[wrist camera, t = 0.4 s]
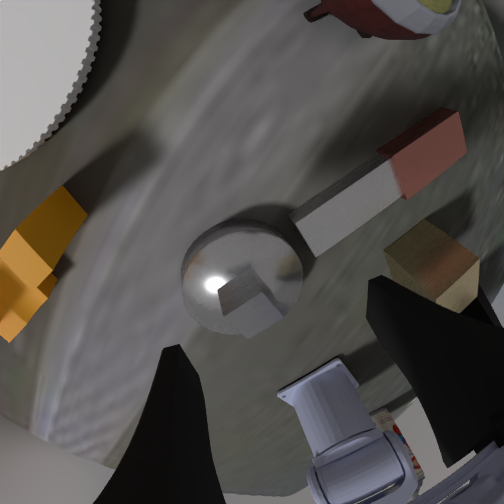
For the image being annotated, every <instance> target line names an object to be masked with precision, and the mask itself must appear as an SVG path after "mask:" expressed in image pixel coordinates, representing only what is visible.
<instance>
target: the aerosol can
mask: <svg viewBox="0 0 504 504" xmlns="http://www.w3.org/2000/svg"><path fill="white" fill-rule="evenodd" d="M369 415H370V417H371V419H372V420H373V422H374V424H375V426H376V428H377V427H380V429H381V431H382V433H383V432H384V431H385V430H389V431H393V432H395V433H396V434H397V435H398V436H399V438H400V439H401V441H402V442H403V444H404V446H405V447H406V449H407V451H408V453H409V455H410V458H411V460H412V463H413V468H414V470H415V472H416V475H417V477H418V481H417V482H418V486H417V488H416V490H415V492H414V493H413V495H412V497H411V498H410V500H409V501H411V500H413V499H415V498H416V497H418V496H419V495H418V492H419V490H420V489H419V488H420V487H421V486H422V481H423V479H424V478H425V477H424V472H423V471H422V469H421V467H420V465H419V463H418V462H417V460H416V458H415V456H414V454H413V453H412V451H411V449H410V448H409V446H408V444H407V443H406V440H405V439H404V437H403V435H402V433H401V432H400V430H399V428H398V427H397V425H396V423H395V421H394V420H393V418H392V416H391V415H390V413H389V411H388V410H387V408H385V407H384V408H380V409H377V410H375V411H373V412H371V413H369ZM393 485H394V484H393ZM393 485H391V486H389V487H387V488H386V489H388V488H390V487H392V486H393Z"/></svg>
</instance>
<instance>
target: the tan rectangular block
mask: <svg viewBox="0 0 504 504" xmlns="http://www.w3.org/2000/svg"><path fill="white" fill-rule="evenodd" d="M384 253H385V256H386V259H387V262H388V265H389V268H390V271H391V275H392V278H393V281H395V282H396V283H398V284H400V285H402V286H404V287H406V288H408V289H410V290H411V291H413V292H415V293H417V294H419V295H421V296H423V297H425V298H427V299H429V300H431V301H433V302H435V303H437V304H439V305H441V306H443V307H445V308H448V309H450V310H452V311H454V312H457V313H461V312H462V311H463V310H464V309H465V308H466V307H467V306H468V305H469V304H470V303H471V302H472V301H473V300H474V299H475V298H476V297H477V293H478V281H479V264H480V258H478V257H477V256H476V255H474V254H473V253H472V252H470V251H469V250H468V249H467V248H465V247H464V246H462V245H461V244H460V243H458V242H457V241H456V240H454V239H453V238H451V237H450V236H449V235H447V234H446V233H444V232H443V231H442V230H440V229H439V228H437V227H436V226H434V225H433V224H431V223H430V222H428V221H427V220H425V219H423V220H422V221H421V222H419V223H418V224H417V225H416V226H414V227H413V228H412V229H411V230H409V231H408V232H407V233H406V234H404V235H403V236H402V237H401V238H399V239H398V240H397V241H395V242H394V243H393V244H391V245H390V246H389V247H388V248H386V249H385V250H384Z"/></svg>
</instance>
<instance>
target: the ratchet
mask: <svg viewBox="0 0 504 504" xmlns="http://www.w3.org/2000/svg"><path fill="white" fill-rule="evenodd" d="M377 151H378V154H376V155H375V156H373V157H372V158H370V159H369V160H367V161H366V162H364V163H363V164H361V165H360V166H358V167H357V168H355V169H354V170H353V171H351V172H350V173H348V174H347V175H345V176H344V177H342V178H341V179H339V180H338V181H336V182H335V183H333V184H332V185H330V186H329V187H327V188H326V189H324V190H323V191H321V192H320V193H318V194H317V195H315V196H314V197H312V198H311V199H310V200H308V201H307V202H305V203H304V204H302V205H301V206H299V207H298V208H296V209H295V210H293V211H292V212H290V213H289V214H288V216H289V218H290V220H291V221H292V223H293V224H294V226H295V228H296V229H297V231H298V232H299V234H300V236H301V237H302V239H303V241H304V242H305V244H306V245H307V247H308V248H309V250H310V251H311V252H312V253H313V255H314V256H315V257H317V256H319V255H320V254H322V253H323V252H325V251H326V250H328V249H329V248H330V247H332V246H333V245H335V244H336V243H338V242H339V241H340V240H342V239H343V238H345V237H346V236H347V235H349V234H350V233H352V232H353V231H354V230H356V229H357V228H359V227H360V226H361V225H363V224H364V223H366V222H367V221H368V220H370V219H371V218H373V217H374V216H375V215H377V214H378V213H379V212H381V211H382V210H383V209H385V208H386V207H388V206H389V205H390V204H392V203H393V202H394V201H396V200H397V199H398V198H400V197H402V198H404V199H405V200H408V199H409V198H411V197H412V196H413V195H415V194H416V193H417V192H419V191H420V190H421V189H422V188H424V187H425V186H426V185H427V184H429V183H430V182H431V181H433V180H434V179H435V178H436V177H438V176H439V175H440V174H441V173H443V172H444V171H445V170H446V169H448V168H449V167H450V166H451V165H452V164H454V163H455V162H456V161H457V160H459V159H460V158H461V157H462V156H463V155H465V154H466V153H467V148H466V143H465V138H464V133H463V128H462V124H461V120H460V116H459V112H458V111H456V110H451V109H447V108H440V109H439V110H437V111H436V112H434V113H433V114H431V115H429V116H428V117H426V118H425V119H423V120H422V121H420V122H419V123H417V124H415V125H414V126H412V127H411V128H409V129H408V130H406V131H405V132H403V133H402V134H400V135H399V136H397V137H396V138H394V139H392V140H391V141H389V142H388V143H386V144H385V145H383V146H382V147H380V148H379V149H377ZM181 279H182V295H183V301H184V304H185V307H186V309H187V311H188V313H189V314H190V315H191V317H192V318H193V319H194V320H195V321H196V322H197V323H199V324H200V325H201V326H203V327H205V328H207V329H209V330H211V331H214V332H218V333H223V334H233V335H235V334H243V335H244V336H245V337H246V338H247V339H250V338H252V337H253V336H255V335H256V334H258V333H260V332H261V331H263V330H265V329H266V328H268V327H269V326H271V325H273V324H274V323H276V322H277V321H279V320H281V319H282V318H284V315H285V314H286V313H287V312H288V311H289V310H290V309H291V308H292V307H293V305H294V304H295V302H296V301H297V299H298V297H299V295H300V293H301V290H302V286H303V268H302V264H301V262H300V260H299V258H298V256H297V254H296V253H295V252H294V250H293V249H292V247H291V246H290V245H289V243H288V242H287V240H286V239H285V238H284V236H283V235H282V234H281V233H280V232H279V231H278V230H276V229H275V228H273V227H272V226H270V225H268V224H266V223H263V222H260V221H255V220H246V219H240V220H232V221H227V222H224V223H221V224H218V225H216V226H214V227H212V228H210V229H208V230H207V231H205V232H204V233H202V234H201V235H200V236H199V237H198V238H197V239H196V240H195V241H194V242H193V243H192V244H191V246H190V247H189V249H188V250H187V252H186V254H185V257H184V260H183V263H182V268H181Z"/></svg>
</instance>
